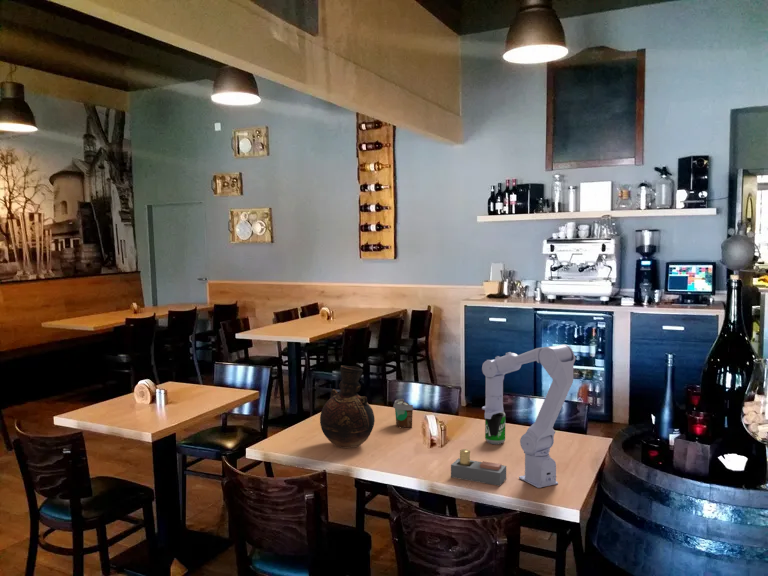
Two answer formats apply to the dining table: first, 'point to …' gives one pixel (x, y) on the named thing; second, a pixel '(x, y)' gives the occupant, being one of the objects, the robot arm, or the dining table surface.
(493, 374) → the robot arm
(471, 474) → the block
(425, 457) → the dining table surface
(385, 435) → the dining table surface
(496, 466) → the bar
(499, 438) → the soda can
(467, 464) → the brass pin
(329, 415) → the ceramic vessel
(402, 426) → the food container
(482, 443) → the dining table surface
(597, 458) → the dining table surface
